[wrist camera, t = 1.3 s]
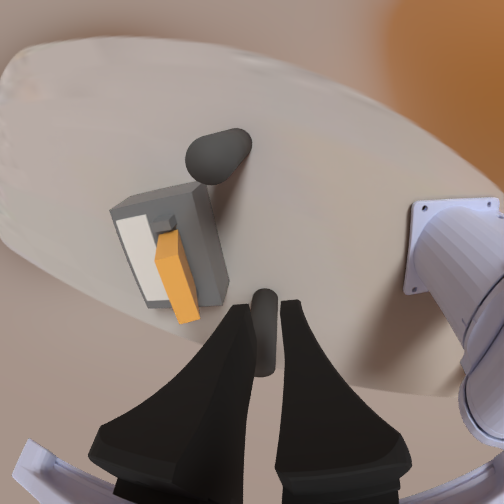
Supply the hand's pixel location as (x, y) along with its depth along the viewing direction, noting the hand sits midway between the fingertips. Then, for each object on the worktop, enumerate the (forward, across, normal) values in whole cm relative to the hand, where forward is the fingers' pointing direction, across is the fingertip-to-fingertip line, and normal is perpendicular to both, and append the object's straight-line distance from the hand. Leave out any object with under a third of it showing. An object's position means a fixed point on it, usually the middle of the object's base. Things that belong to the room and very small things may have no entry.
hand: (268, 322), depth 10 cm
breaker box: (+9, +7, 0) cm, 12 cm away
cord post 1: (+9, +2, -6) cm, 11 cm away
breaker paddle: (+6, +6, 0) cm, 9 cm away
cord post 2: (+9, +2, +6) cm, 11 cm away
